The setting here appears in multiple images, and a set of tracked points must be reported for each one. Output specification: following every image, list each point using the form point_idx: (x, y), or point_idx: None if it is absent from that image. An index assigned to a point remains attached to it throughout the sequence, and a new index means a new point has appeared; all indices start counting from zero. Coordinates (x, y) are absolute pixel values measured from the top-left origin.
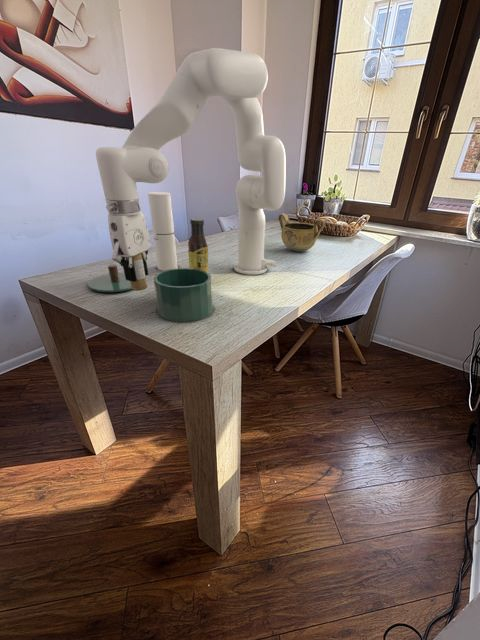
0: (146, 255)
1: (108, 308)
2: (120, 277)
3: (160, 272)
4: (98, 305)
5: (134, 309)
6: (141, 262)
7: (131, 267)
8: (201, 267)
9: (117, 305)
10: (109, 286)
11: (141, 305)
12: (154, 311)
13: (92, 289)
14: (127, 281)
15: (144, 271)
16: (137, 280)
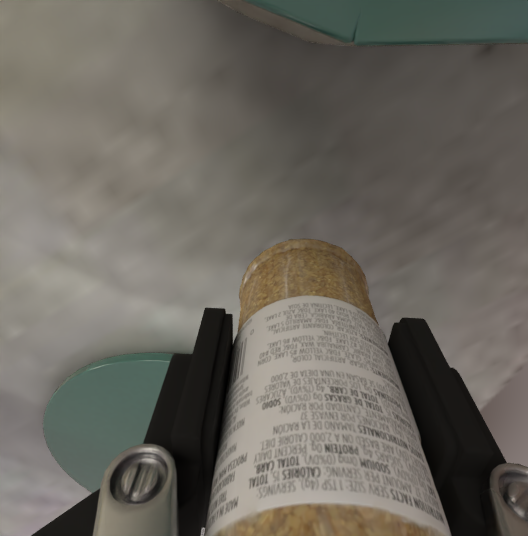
0: (61, 521)
1: (461, 333)
2: None
3: (394, 21)
4: None
5: (452, 204)
6: (333, 454)
7: (504, 465)
8: None
9: (413, 316)
10: None
11: (381, 198)
12: (467, 45)
13: None
14: (144, 415)
15: (274, 340)
16: (375, 319)
